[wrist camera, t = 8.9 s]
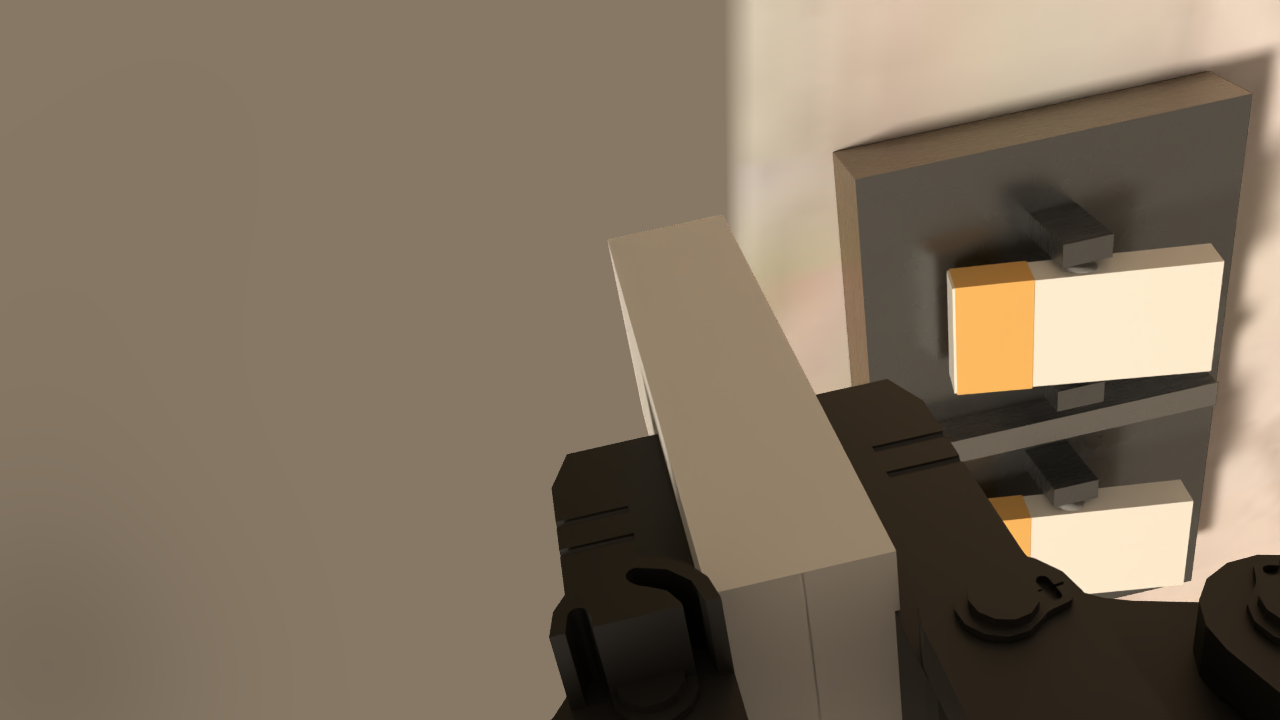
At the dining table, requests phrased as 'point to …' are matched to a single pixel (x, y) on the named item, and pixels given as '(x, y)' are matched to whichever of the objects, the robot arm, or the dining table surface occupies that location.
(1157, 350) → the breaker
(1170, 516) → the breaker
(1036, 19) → the dining table surface
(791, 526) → the robot arm
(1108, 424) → the breaker box
